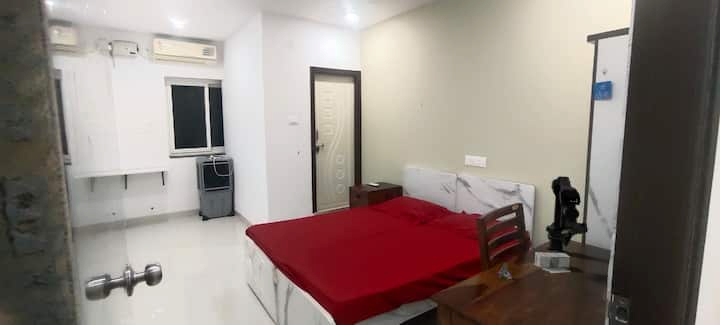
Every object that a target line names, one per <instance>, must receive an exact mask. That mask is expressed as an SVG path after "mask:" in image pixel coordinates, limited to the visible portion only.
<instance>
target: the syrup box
mask: <svg viewBox="0 0 720 325" xmlns="http://www.w3.org/2000/svg"><path fill="white" fill-rule="evenodd" d="M534 255H535V256H534V263H535V264H536V265H537V266H536V265H535V266H536V267H538V268H540V267H550V268H566V269H570V267H571V256H569V255H568V254H567V253H565V252H541V251H537V252H535V254H534Z"/></svg>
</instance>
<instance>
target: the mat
mask: <svg viewBox="0 0 720 325" xmlns="http://www.w3.org/2000/svg"><path fill="white" fill-rule="evenodd" d="M533 265H535V266H536V267H538V266H537V265H536V264H535V262H534V263H533ZM539 268H540V269H541V270H543V271H545V270H546V272H547V271H549V272H550V273H549V272H548V273H549V274H559V273H561V274H563V273H571V272H572V271H571V270H569V268H550V267H539Z"/></svg>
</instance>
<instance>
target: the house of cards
mask: <svg viewBox="0 0 720 325" xmlns="http://www.w3.org/2000/svg"><path fill="white" fill-rule="evenodd" d="M496 274H497V276H498V277H499V278H505V279H506V280H510V279H511V280H512V279H513V277H512V275H511V273H510V271H508V264H507V262H504V263H503V265H502V268H500V270H499V271H497V273H496Z"/></svg>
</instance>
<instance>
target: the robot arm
mask: <svg viewBox="0 0 720 325" xmlns="http://www.w3.org/2000/svg"><path fill="white" fill-rule="evenodd" d="M571 184H572V183H571V180H570V177H568V176H561V175H560V176H558V177H557V178H554V179H553V180H552V181H551V184H550V185H551V186H550V187H551V189H552V193H553V195H554V196H555V197H554V211H553V222H552V223H551V224H550V225H547V226H546V227H545V232H547V233H546V234H547V236H546V237H547V240H549V246H548V247H546V249H547V250H549V251H552V252H554V251H556V252H559V253H565V250H564V249H563V248H564V247H568V245H569V243H570V241H571V240H572V238H573V237H574V236H576V235H583V233H584V234H585V233H588V231H589V230H588V229H589V228H588V223H586V222H578V218H579V216H580V211H579V210H578V209H577V206H580V204H581V203H582V201H581V200H582V199H581V194H580V192H579V191H578V190H577V188H575V187H573V186H572V185H571ZM563 246H564V247H563Z"/></svg>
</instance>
